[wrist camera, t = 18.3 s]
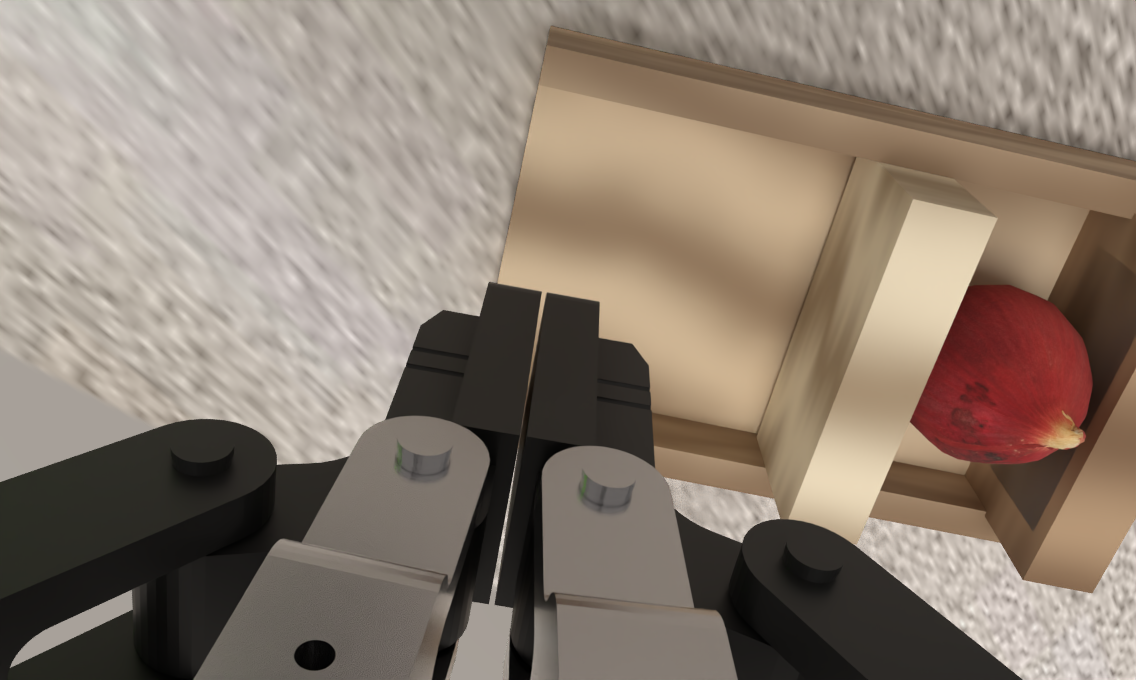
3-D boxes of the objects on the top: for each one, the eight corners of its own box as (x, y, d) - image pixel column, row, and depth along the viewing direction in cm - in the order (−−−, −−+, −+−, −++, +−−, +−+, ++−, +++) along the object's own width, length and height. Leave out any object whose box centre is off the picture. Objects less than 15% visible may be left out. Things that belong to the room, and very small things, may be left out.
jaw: (861, 144, 33) (913, 199, 28) (932, 160, 33) (997, 218, 28) (756, 437, 38) (783, 530, 33) (819, 449, 38) (856, 544, 33)
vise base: (550, 25, 33) (542, 69, 27) (1169, 169, 35) (1303, 242, 28) (475, 389, 39) (454, 496, 33) (1006, 495, 41) (1086, 616, 35)
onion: (917, 419, 38) (1035, 558, 31) (826, 332, 36) (932, 462, 29) (1041, 313, 37) (1194, 433, 30) (955, 215, 34) (1100, 321, 27)
